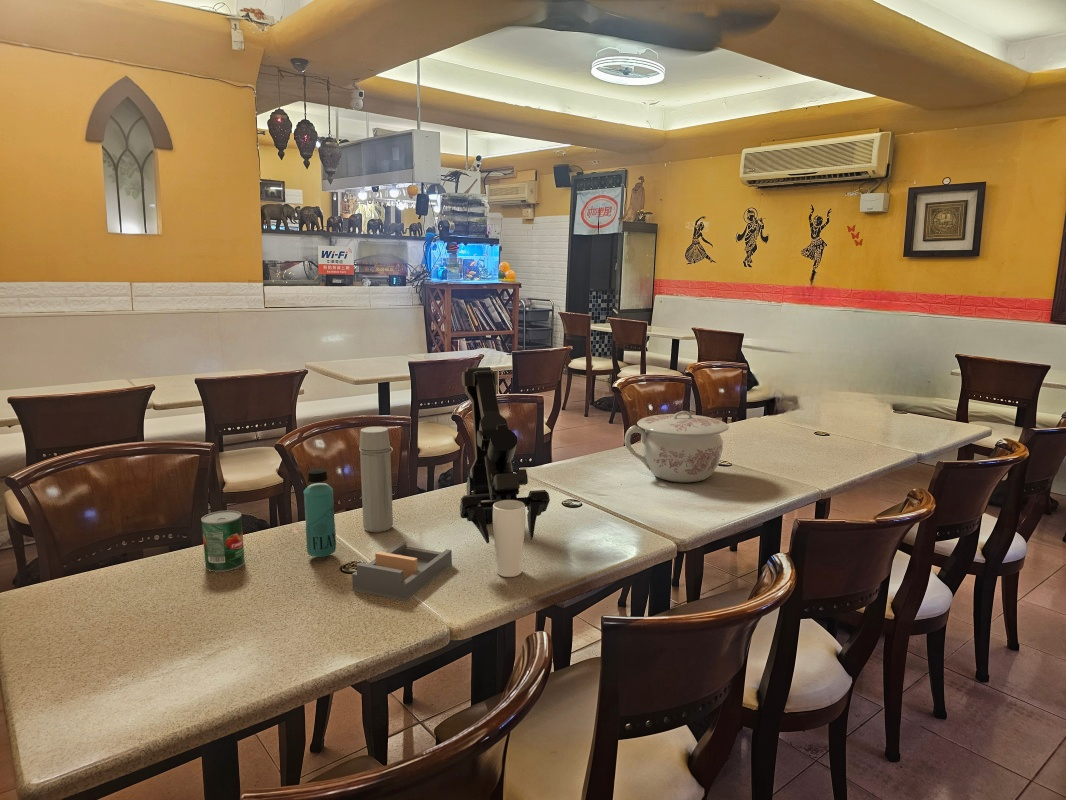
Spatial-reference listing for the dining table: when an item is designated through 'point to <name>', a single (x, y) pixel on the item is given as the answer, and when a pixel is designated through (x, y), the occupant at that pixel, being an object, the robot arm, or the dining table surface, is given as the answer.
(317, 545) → the beverage bottle
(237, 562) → the canned tomato
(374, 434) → the water bottle
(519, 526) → the drinking glass
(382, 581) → the gray tray
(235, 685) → the dining table surface
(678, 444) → the chamber pot
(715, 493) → the dining table surface
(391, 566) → the block
